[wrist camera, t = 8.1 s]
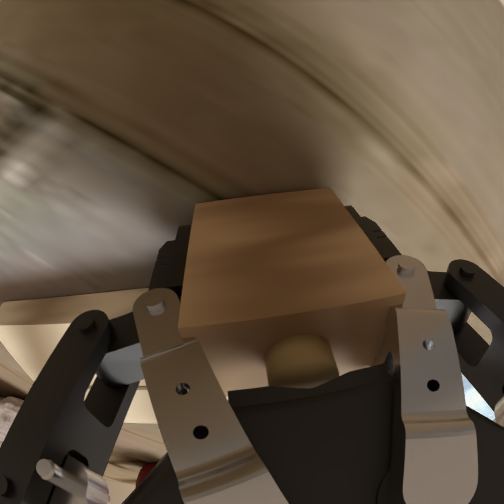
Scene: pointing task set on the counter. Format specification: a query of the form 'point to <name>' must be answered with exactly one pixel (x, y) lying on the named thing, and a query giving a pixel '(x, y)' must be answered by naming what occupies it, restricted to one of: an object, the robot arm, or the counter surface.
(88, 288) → the counter surface
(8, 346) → the board
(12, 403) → the fossil
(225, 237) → the block
